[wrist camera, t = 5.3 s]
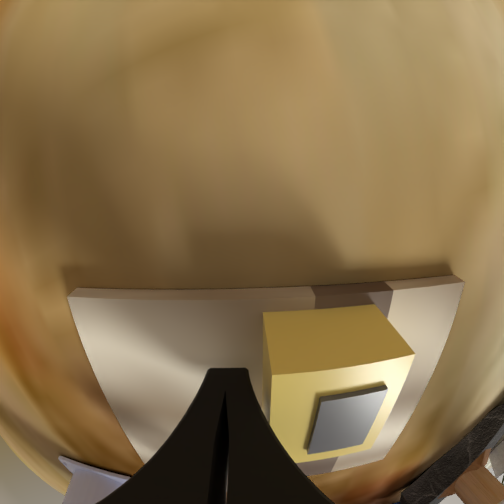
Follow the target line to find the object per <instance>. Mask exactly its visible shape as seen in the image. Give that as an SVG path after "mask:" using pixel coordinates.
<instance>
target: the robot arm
mask: <svg viewBox="0 0 504 504" xmlns="http://www.w3.org/2000/svg"><path fill="white" fill-rule="evenodd" d="M58 459H59V460H60V461H61V463H62V464H63V465H64V466H65V467H66V468H67V469H68V470H69V471H70V472H71V473H72V474H73V476H72V478H71V481H70V484H69V486H68V489H67V492H66V495H65V498H64V500H63V503H62V504H335V503H333V502H332V501H331V500H330V499H329V498H328V497H327V496H326V495H325V494H323V493H322V492H321V491H320V490H319V489H318V488H317V487H316V486H315V484H314V483H313V482H312V481H311V480H310V479H309V478H308V477H307V476H306V475H305V474H304V473H303V472H302V470H301V469H300V468H299V467H298V466H297V464H296V463H295V462H294V461H293V459H292V458H291V457H290V455H289V454H288V453H287V451H286V450H285V448H284V447H283V446H282V444H281V443H280V441H279V440H278V438H277V436H276V435H275V433H274V431H273V430H272V428H271V426H270V425H269V423H268V421H267V419H266V417H265V415H264V413H263V411H262V409H261V407H260V405H259V403H258V400H257V398H256V395H255V393H254V390H253V387H252V384H251V380H250V376H249V370H248V369H247V368H210V369H208V370H207V373H206V375H205V377H204V380H203V382H202V384H201V386H200V388H199V390H198V392H197V394H196V396H195V398H194V399H193V401H192V403H191V404H190V406H189V408H188V410H187V411H186V413H185V414H184V416H183V418H182V419H181V420H180V422H179V423H178V425H177V426H176V428H175V429H174V431H173V432H172V433H171V435H170V436H169V437H168V439H167V440H166V441H165V442H164V444H163V445H162V446H161V447H160V448H159V450H158V451H157V452H156V453H155V454H154V455H153V456H152V457H151V459H150V460H149V461H148V462H147V463H146V464H145V465H144V466H143V467H142V468H141V469H140V470H139V471H138V472H136V473H135V474H134V475H133V476H132V477H128V476H124V475H120V474H116V473H112V472H108V471H105V470H101V469H98V468H95V467H91V466H88V465H85V464H82V463H79V462H76V461H74V460H71V459H68V458H66V457H63V456H59V458H58ZM227 476H228V483H227ZM226 489H227V502H226ZM498 504H504V499H503V500H502V501H501V502H499V503H498Z"/></svg>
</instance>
